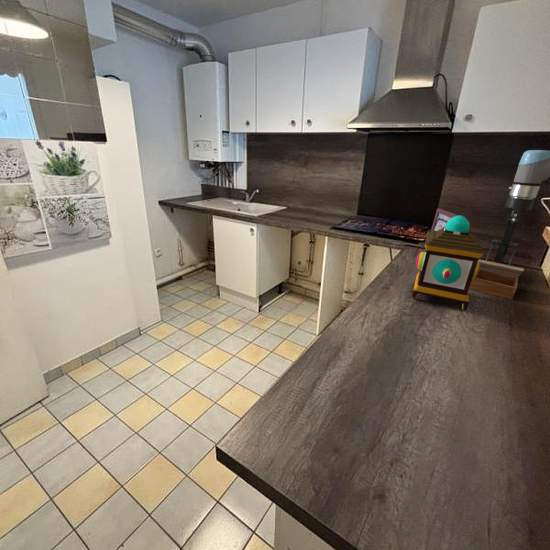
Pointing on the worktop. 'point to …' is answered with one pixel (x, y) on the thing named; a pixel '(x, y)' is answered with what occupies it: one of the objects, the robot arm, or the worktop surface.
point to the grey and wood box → (501, 267)
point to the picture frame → (441, 219)
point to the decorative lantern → (449, 262)
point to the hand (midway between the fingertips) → (498, 260)
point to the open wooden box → (495, 284)
